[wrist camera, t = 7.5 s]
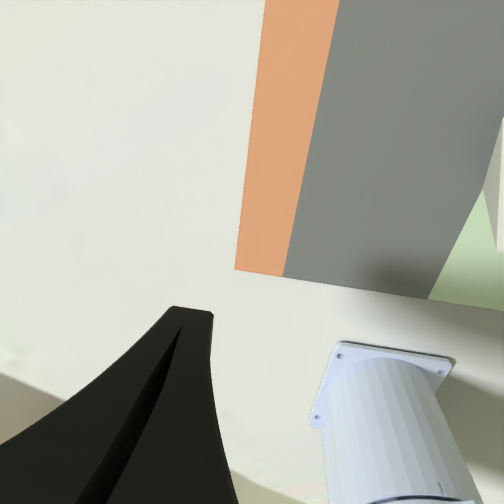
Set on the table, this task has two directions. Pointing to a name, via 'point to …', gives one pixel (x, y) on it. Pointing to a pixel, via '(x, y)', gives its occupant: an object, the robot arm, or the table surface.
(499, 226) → the die
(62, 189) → the table surface
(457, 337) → the table surface
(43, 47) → the table surface
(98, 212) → the table surface
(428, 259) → the mat
